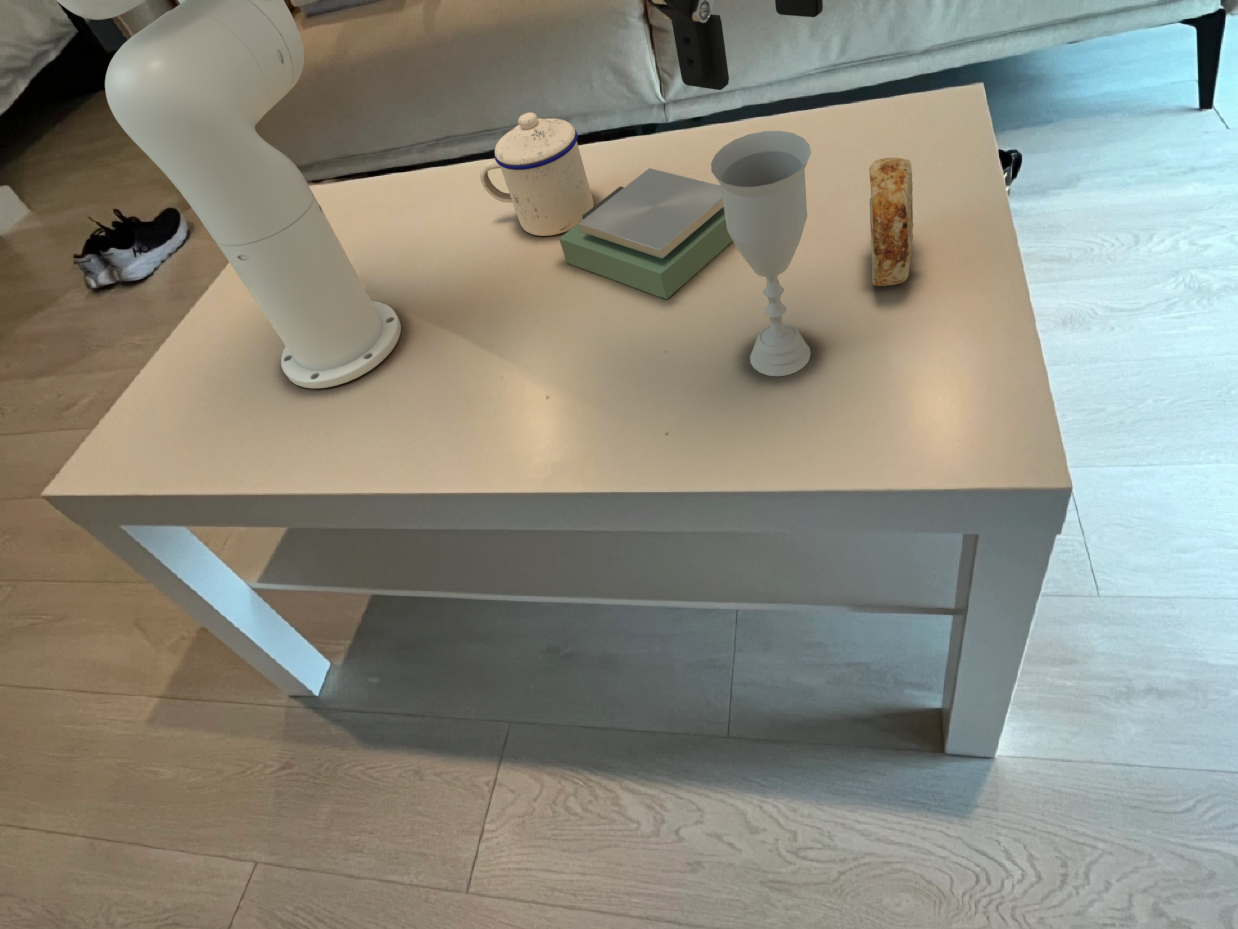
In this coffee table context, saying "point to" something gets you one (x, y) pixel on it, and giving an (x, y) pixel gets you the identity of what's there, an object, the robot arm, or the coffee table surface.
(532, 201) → the teacup with lid
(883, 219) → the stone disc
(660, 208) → the pan
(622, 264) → the scale
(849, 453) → the coffee table surface
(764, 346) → the chalice
